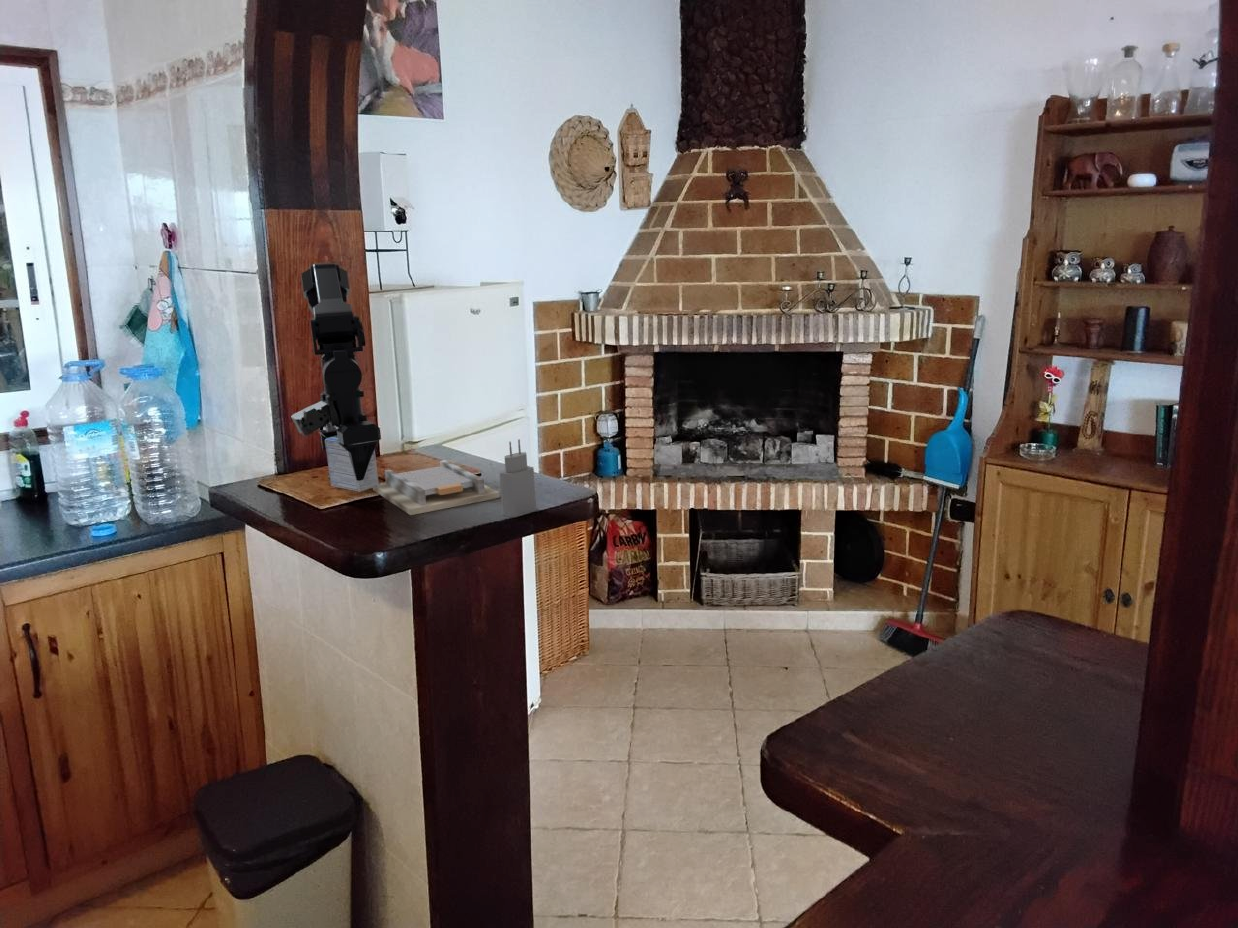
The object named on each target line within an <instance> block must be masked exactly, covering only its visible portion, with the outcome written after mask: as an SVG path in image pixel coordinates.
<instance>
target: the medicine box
mask: <svg viewBox="0 0 1238 928" xmlns="http://www.w3.org/2000/svg"><path fill="white" fill-rule="evenodd" d="M325 443H326V458H327V465H328V474H330V478H329V480H330V486H332V487H334V488H339V489H345V490H351V491H354V492H355V491H356V492H363V491H366V490H370V489H373V488H374V487H377V486H378V485H379V483H380V482H379V474H378V466H377V459H376V450H375V449H376V448H375V449H374V452H373V454H372V457H371V459H370V462H369V465H368V468H367V471H366V473H365V476H364V479H363V480H360V481H357V480H356V477H355V474H354V471H353V467H352V464H351V460H350V457H349V453H348V451H347V450H345V449H344V448H343V447H341V446H340V445H339V444H338V443H340V442H339V440H338V437H337V436H333V437H330V438H327V439H325Z"/></svg>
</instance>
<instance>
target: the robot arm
mask: <svg viewBox="0 0 1238 928" xmlns="http://www.w3.org/2000/svg"><path fill="white" fill-rule="evenodd" d="M300 279H301V288H302V296H303V299H307V303H308V304H307V305H308V309H309V311H310V312H311V314H313V317H311V318H309V323H310V331H311V339H312V345H313V353H314V356H321V355H322V356H321V359H320V364H321V371H322V380H323V387H324V388H323V389H324V390H323V391H321V393H320V395H319V396H320V401H318V402H317V403H316V402H315V403H314V404H311V405H309V406H307V407H305V408H303V409H301V410H299V411H297V412H295V413H292V415H291V416H290V418H291V420H292V421H293V423H294V425H295V427H296V428H297V431H298V432H299V434H301V435H303V436H304V437H306V436H307V437H308V436H310V435H311V434H314V432H315V431H318V433H319V434H320V440H321V441H320V442H321V446H322V447H321V448H322V451H324V452H325V451H326V443H325V439H327V438H330V437H333V436H337V437H338V440H339V442H340V443H338V444H339V445H340V446H341V447H343V448H344V449H345V450H347V451H348V453H349V457H350V460H351V464H352V467H353V471H354V474H355V477H356V480H357V481H360V480H363V479H364V476H365V473H366V471H367V468H368V465H369V462H370V459H371V457H372V454H373V452H374V449H376V446H377V445H378V444H379V441H381V440H382V436H381V427H379V426H378V425H376V424H375V423H374V422H371V421H370V420H368V419H367V414H366V413H363V406H362V405H363V404H362V398H365V393H364V390H362V389H361V388H360V385H361V383H362V380H363V378H362V376H363V374H362V370H361V368H360V366H359V364H358V360H357V356H356V355H355V354H354V353H360V352H362V353H363V352H364V349H363V348H364V347H366V338H365V337H366V336H365V333H364V327H363V326H364V325H363V322H362V321H361V320H360V317H359V315H354V311H353V307H352V305H351V304H350V303H348V302H347V301H348V300H347V297H349V296H350V295H351V294H350V293H351V289H350V281H349V273H348V271H347V269H346V270H345V269H343V268H341V267H340V264H339V263H335V262H318V263H317V262H316V263H313V264H310V266H309V269H307V270H305V271H303V272H302V273H300ZM318 347H319V348H318ZM326 452H327V451H326ZM327 478H329V479H330V474H329V473H328V474H327Z"/></svg>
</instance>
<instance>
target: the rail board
mask: <svg viewBox="0 0 1238 928" xmlns="http://www.w3.org/2000/svg"><path fill="white" fill-rule="evenodd" d="M439 463H440V464H439V466H444V467H446V468H448V469H450V470H452V471H454V472H456V473H458V474H460V475H462V476H464V477H466V478H468V479H470V480H472V482H473V487H468V488H463V491H460V492H455V493H450V494H444V495H439V494H438V493H436V494H430V495H425V490H424V489H422V488H420V487H419V486H417V485H415V484H414V483H412V482H410V481H409V480H407V479H405V478H404V477H402V476H400V475H399V474H398V473H397V472H395V471H393V470H392V469H385V470H384V478H385V481H384V482H379V485H378V486H377V487H374V488H372V491H374V492H375V493H377V494H378V495H380V496H381V497H383V498H384V499H386V500H387V501H389V502H390V503H391V504H393V505H394V506H396V507H398V508H399V509H400V510H402V511H403V512H404V513H406V514H408V515H409V516H413V515H414V516H415V515H419V514H423V513H424V514H425V513H428V512H433V511H440V510H445V509H448V508H453V507H460V506H464V505H469V504H475V503H480V502H484V501H491V500H495V499H501V496H500V491H498V490H496V489H494V488H491V487H490V486H488V485H486V484H485V479H484V478H482V477H480V476H479V475H476V474H474V473H472V472H471V471H468V470H467V469H464V468H463V467H460V466H458V465H456V464H454V463H452V462H451V461H448V460H445V459H444V460H440V461H439Z"/></svg>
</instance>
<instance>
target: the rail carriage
mask: <svg viewBox="0 0 1238 928" xmlns="http://www.w3.org/2000/svg"><path fill="white" fill-rule="evenodd" d="M397 474H399V475H400V476H402V477H404V478H405V479H407V480H409V481H410V482H412V483H414V484H415V485H417V486H419V487H420V488H422V489H424V490H425V495H430V494H436V493H438V494H439V495H444V494H450V493H455V492H460V491H463V488H468V487H473V482H472V480H470V479H468V478H466V477H464V476H462V475H460V474H458V473H456V472H454V471H452V470H450V469H448V468H446V467H444V466H440V465H439V466H434V467H433V466H432V467H427V468H423V469H422V468H421V469H417V470H416V469H415V470H411V471H409V470H408V471H405V472H399V473H397Z"/></svg>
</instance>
